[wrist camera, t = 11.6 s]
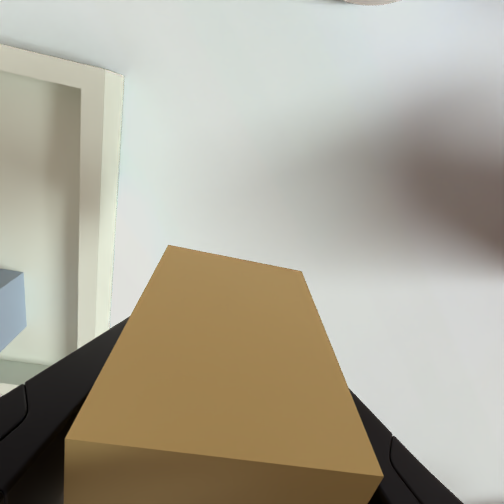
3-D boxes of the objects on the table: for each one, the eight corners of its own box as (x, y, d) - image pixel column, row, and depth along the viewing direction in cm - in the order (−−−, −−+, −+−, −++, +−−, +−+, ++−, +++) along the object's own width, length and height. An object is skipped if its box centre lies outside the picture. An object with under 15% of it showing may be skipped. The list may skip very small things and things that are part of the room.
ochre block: (268, 371, 11) (297, 620, 6) (152, 353, 11) (61, 606, 5) (301, 271, 10) (384, 476, 4) (168, 245, 9) (65, 438, 4)
